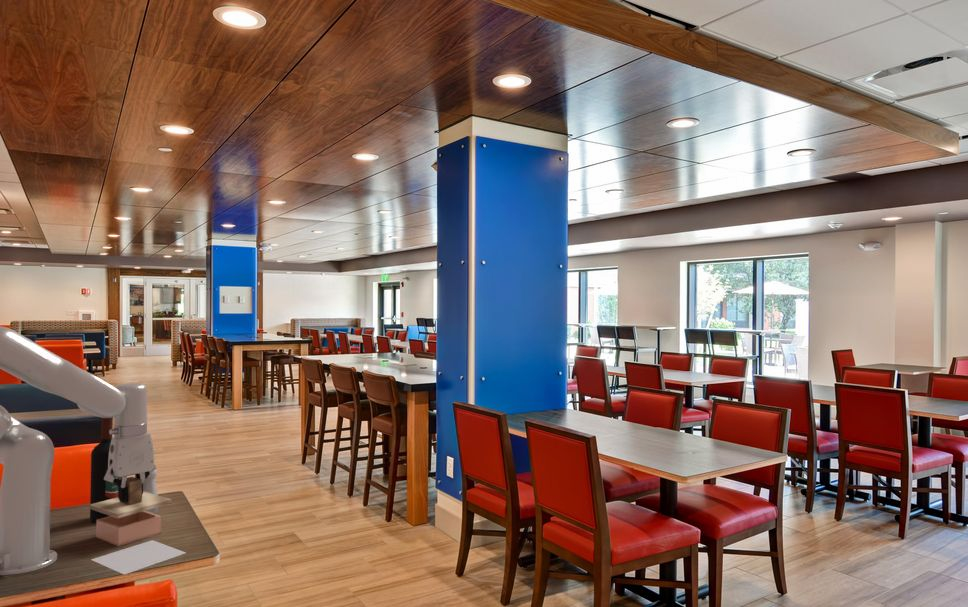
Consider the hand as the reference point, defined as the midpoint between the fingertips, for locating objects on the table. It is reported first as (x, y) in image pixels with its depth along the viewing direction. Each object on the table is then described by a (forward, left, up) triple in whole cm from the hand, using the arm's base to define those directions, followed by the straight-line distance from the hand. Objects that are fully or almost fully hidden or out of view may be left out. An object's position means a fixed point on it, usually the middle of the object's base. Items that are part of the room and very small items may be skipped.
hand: (130, 499), depth 164 cm
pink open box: (0, 0, -10) cm, 10 cm away
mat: (-6, -16, -10) cm, 20 cm away
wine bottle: (+4, +20, -10) cm, 23 cm away
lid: (0, 0, -2) cm, 2 cm away
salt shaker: (+13, +14, -10) cm, 21 cm away
